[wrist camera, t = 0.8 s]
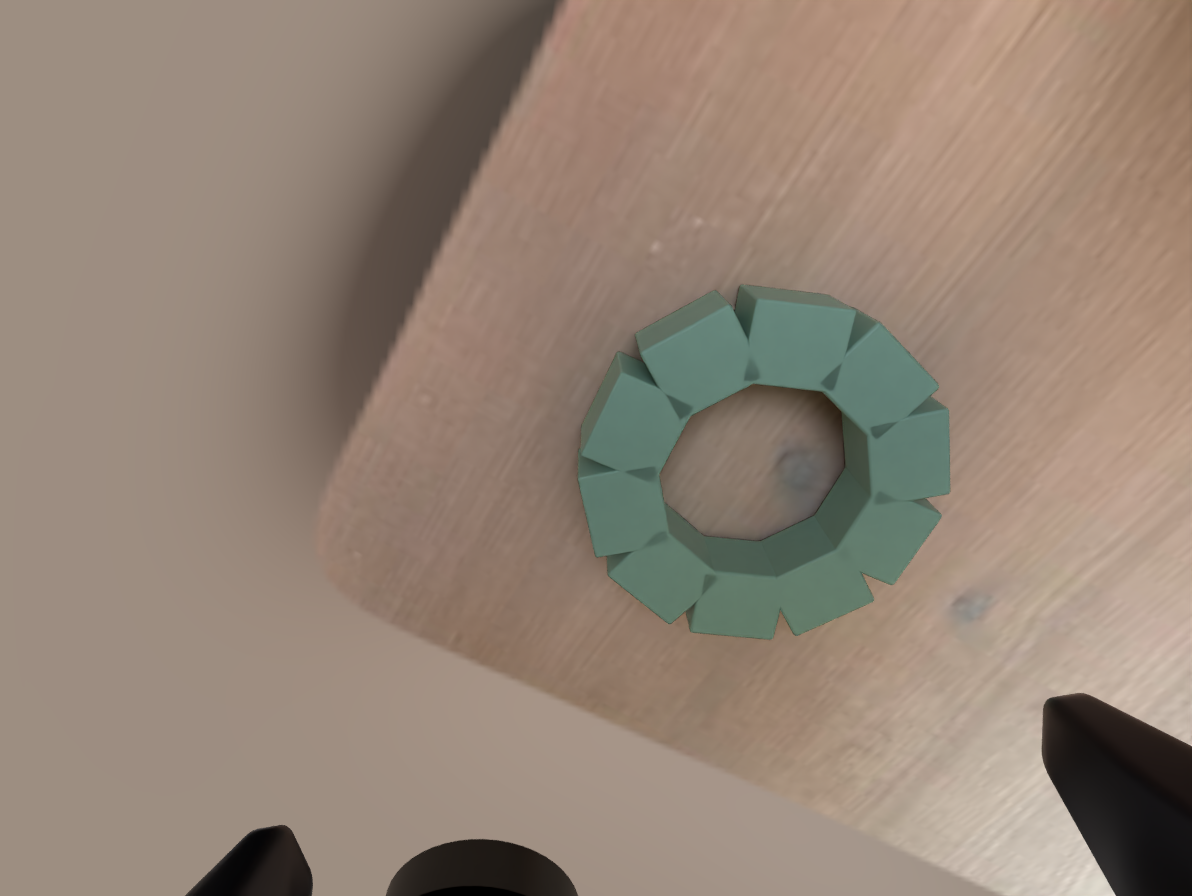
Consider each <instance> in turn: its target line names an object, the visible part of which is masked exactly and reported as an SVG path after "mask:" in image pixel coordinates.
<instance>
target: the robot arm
mask: <svg viewBox="0 0 1192 896" xmlns="http://www.w3.org/2000/svg"><path fill="white" fill-rule="evenodd" d="M1042 758H1043V762H1044V765H1045V768H1046V771H1047V773H1048V775H1049V777H1050V779H1051V780H1052V782H1053V784H1054V786H1055V788H1056V789H1057V791H1058V793H1059V795H1060V797H1061V798H1062V800H1063V802H1064V804H1065V806H1066V807H1067V809H1068V811H1069V813H1070V815H1071V816H1072V818H1073V820H1074V822H1075V823H1076V825H1077V827H1078V829H1079V831H1080V832H1081V834H1082V836H1083V838H1084V840H1085V841H1086V843H1087V845H1088V847H1089V849H1090V850H1091V852H1092V854H1093V856H1094V857H1095V859H1096V861H1097V863H1098V865H1099V866H1100V868H1101V870H1102V872H1103V874H1104V875H1105V877H1106V879H1107V881H1108V883H1109V884H1110V886H1111V888H1112V890H1113V891H1114V893H1115V895H1116V896H1192V746H1190V745H1188V744H1186V743H1184V742H1182V741H1180V740H1178V739H1176V738H1174V737H1172V736H1170V735H1168V734H1166V733H1164V732H1162V731H1160V730H1158V729H1156V728H1154V727H1152V726H1150V725H1148V724H1146V723H1144V722H1142V721H1140V720H1138V719H1136V718H1134V717H1132V716H1130V715H1128V714H1126V713H1124V712H1122V711H1121V710H1119V709H1117V708H1115V707H1113V706H1111V705H1109V704H1107V703H1105V702H1103V701H1101V700H1099V699H1097V698H1095V697H1092V696H1090V695H1087V694H1084V693H1076V694H1070V695H1063V696H1057V697H1052V698H1049V699H1047V701H1046V702H1045V704H1044V708H1043V727H1042ZM312 888H313V882H312V874H311V870H310V868H309V866H308V863H307V861H306V859H305V857H304V855H303V853H302V851H301V849H300V847H299V844H298V843H297V841H296V838H295V836H294V834H293V832H292V830H291V829H290V828H288V827H287V826H285V825H278V826H272V827H266V828H260V829H256V830H253V831H252V832H250V833H249V834H247V835H246V836H245V837H244V838H243V839H242V840H241V841H240V842H239V843H238V844H237V845H236V846H235V847H234V848H233V849H232V850H231V851H230V852H229V853H228V854H227V855H226V856H225V857H224V858H223V859H222V860H221V861H220V862H219V863H218V864H217V865H216V866H215V867H214V868H213V869H212V870H211V871H210V872H209V873H208V874H207V875H206V876H205V877H204V878H203V879H202V880H201V881H199V882H198V883H197V884H196V885H195V886H194V887H193V888H192V889H191V890H190V891H189V892H188V893H187V894H186V895H185V896H312Z"/></svg>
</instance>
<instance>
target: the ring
mask: <svg viewBox="0 0 1192 896" xmlns="http://www.w3.org/2000/svg"><path fill="white" fill-rule="evenodd" d="M635 338H636V341H637V345H638V348H639V352H640V355H641V357H642V359H643V361H644V362H641V361H639V360H637V359H635V358H633V357H630V356H628V355H626V354H624V353H622V352H617V353H616V355H615V357H614V359H613V361H612V363H611V366H610V368H609V370H608V372H607V374H606V376H605V378H604V380H603V382H602V384H601V386H600V388H599V390H598V392H597V394H596V397H595V399H594V401H593V403H592V405H591V407H590V409H589V411H588V413H587V415H586V417H585V419H584V421H583V423H582V425H581V448H579V449H578V483H579V487H580V492H581V496H582V501H583V505H584V509H585V514H586V518H587V523H588V527H589V531H590V536H591V540H592V545H593V549H594V553H595V556H596V557H603V556H607V572H608V576H609V577H610V578H611V579H613V580H614V581H615V582H616V583H618V584H619V585H620V586H621V587H623V588H624V589H625V590H626V591H628V592H629V593H630V594H631V595H633V596H634V597H635V598H636V599H638V600H639V601H640V602H641V603H643V604H644V605H645V606H646V607H648V608H649V609H650V610H651V611H653V612H654V613H655V614H657V615H658V616H659V617H660V618H662V619H663V620H664V621H665V622H667V623H668V624H671V623H673V622H674V621H675V620H676V619H677V618H678V617H679V616H681V615H682V614H683V613H684V612H685V611H686V615H687V620H688V624H689V629H690V631H691V632H693V633H702V634H713V635H724V636H735V637H746V638H757V639H768V640H771V639H773V636H774V633H775V629H776V625H777V621H778V617H779V613H780V610H781V612H782V614H783V616H784V618H785V619H786V621H787V623H788V625H789V627H790V628H791V630H792V632H793V634H794V635H795V636H798V635H800V634H802V633H805V632H807V631H809V630H811V629H814V628H816V627H818V626H820V625H822V624H825V623H827V622H829V621H831V620H834V619H836V618H838V617H840V616H843V615H845V614H847V613H849V612H851V611H854V610H856V609H858V608H860V607H863V606H865V605H867V604H869V603H872V602H873V601H874V597H873V595H872V593H871V591H870V589H869V587H868V585H867V583H866V581H865V579H864V577H863V575H862V573H863V574H866V575H868V576H870V577H873V578H875V579H877V580H880V581H882V582H885V583H887V584H889V585H893V584H895V582H896V581H897V579H898V578H899V577H900V575H901V574H902V572H903V571H904V570H905V568H906V567H907V565H908V564H909V563H910V561H911V560H912V558H913V557H914V556H915V554H916V553H917V551H918V550H919V548H920V547H921V546H922V544H923V543H924V541H925V540H926V539H927V537H928V536H929V534H930V533H931V532H932V530H933V529H934V527H935V526H936V525H937V523H938V522H939V520H940V519H941V517H942V515H941V514H940V512H939V511H938V510H937V509H936V508H935V507H934V506H933V505H932V504H931V503H930V502H929V501H928V500H927V499H926V498H929V497H935V496H940V495H946V494H949V493H950V440H949V410H948V408H946V407H945V406H944V405H942V404H941V403H939V402H938V401H936V400H935V399H933V398H932V397H931V395H932V394H933V393H934V392H935V391H937V390H938V388H939V385H938V383H937V382H936V381H935V380H934V379H933V378H932V377H931V376H930V375H929V374H928V372H927V371H926V370H925V369H924V368H923V367H922V366H921V365H920V364H919V363H918V362H917V361H916V360H915V359H914V357H913V356H912V355H911V354H910V353H909V352H908V351H907V350H906V349H905V348H904V347H903V346H902V345H901V344H900V343H899V341H898V340H897V339H896V338H895V337H894V336H893V335H892V334H891V333H890V332H889V331H888V330H887V329H886V328H885V327H884V325H883V324H882V323H880V322H878V321H877V320H875V319H873V318H871V317H870V316H868V315H866V314H864V313H862V312H861V311H859V310H857V309H855V308H853V307H849V306H847V305H846V304H844V303H842V302H840V301H838V300H837V299H835V298H833V297H831V296H830V295H826V294H818V293H809V292H801V291H793V290H785V289H776V288H768V287H760V286H751V285H740V287H739V292H738V297H737V302H736V307H735V312H734V310H733V308H732V306H731V305H730V304H729V303H728V302H727V301H726V300H725V299H724V298H723V297H722V296H721V295H720V294H719V293H718V292H717V291H716V290H714V291H712V292H710V293H708V294H706V295H704V296H702V297H701V298H699V299H697V300H695V301H693V302H692V303H690V304H688V305H686V306H684V307H682V308H681V309H679V310H677V311H675V312H673V313H671V314H670V315H668V316H666V317H664V318H662V319H661V320H659V321H657V322H655V323H653V324H651V325H650V326H648V327H646V328H644V329H642V330H640V331H639V332H637V333H636V334H635ZM752 384H758V385H767V386H776V387H785V388H794V389H803V390H812V391H821V392H823V393H824V394H825V395H826V396H827V397H828V398H829V399H830V400H831V401H832V402H833V403H834V404H835V405H836V406H837V407H838V408H839V409H840V410H841V412H842V425H843V439H844V452H845V466H846V467H845V469H844V470H843V472H842V473H841V475H840V476H839V478H838V480H837V481H836V483H835V484H834V486H833V487H832V489H831V491H830V492H829V494H828V495H827V497H826V498H825V500H824V501H823V503H822V505H821V506H820V508H819V509H818V511H817V512H816V514H815V515H814V516H812V517H810V518H808V519H806V520H804V521H802V522H799V523H797V524H795V525H793V526H791V527H789V528H787V529H785V530H783V531H781V532H778V533H776V534H774V535H772V536H770V537H768V538H766V539H764V540H762V541H760V542H759V541H749V540H739V539H729V538H719V537H709V536H703V535H702V534H701V533H700V532H699V531H697V530H696V529H695V528H694V527H693V526H692V525H690V524H689V523H688V522H687V521H686V520H685V519H683V518H682V517H681V516H680V515H679V514H678V513H676V512H675V511H674V510H673V509H672V508H671V507H669V506H668V505H667V504H666V503H665V502H664V499H663V493H662V488H661V482H660V476H659V474H660V472H661V470H662V468H663V466H664V465H665V463H666V461H667V459H668V457H669V455H670V453H671V452H672V450H673V448H674V446H675V444H676V442H677V441H678V439H679V437H680V435H681V433H682V431H683V429H684V428H685V426H686V424H687V422H688V420H689V418H690V416H692V415H694V414H696V413H698V412H700V411H702V410H704V409H706V408H707V407H709V406H711V405H713V404H715V403H717V402H719V401H721V400H723V399H725V398H727V397H729V396H731V395H733V394H734V393H736V392H738V391H740V390H742V389H744V388H746V387H748V386H750V385H752Z"/></svg>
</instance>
